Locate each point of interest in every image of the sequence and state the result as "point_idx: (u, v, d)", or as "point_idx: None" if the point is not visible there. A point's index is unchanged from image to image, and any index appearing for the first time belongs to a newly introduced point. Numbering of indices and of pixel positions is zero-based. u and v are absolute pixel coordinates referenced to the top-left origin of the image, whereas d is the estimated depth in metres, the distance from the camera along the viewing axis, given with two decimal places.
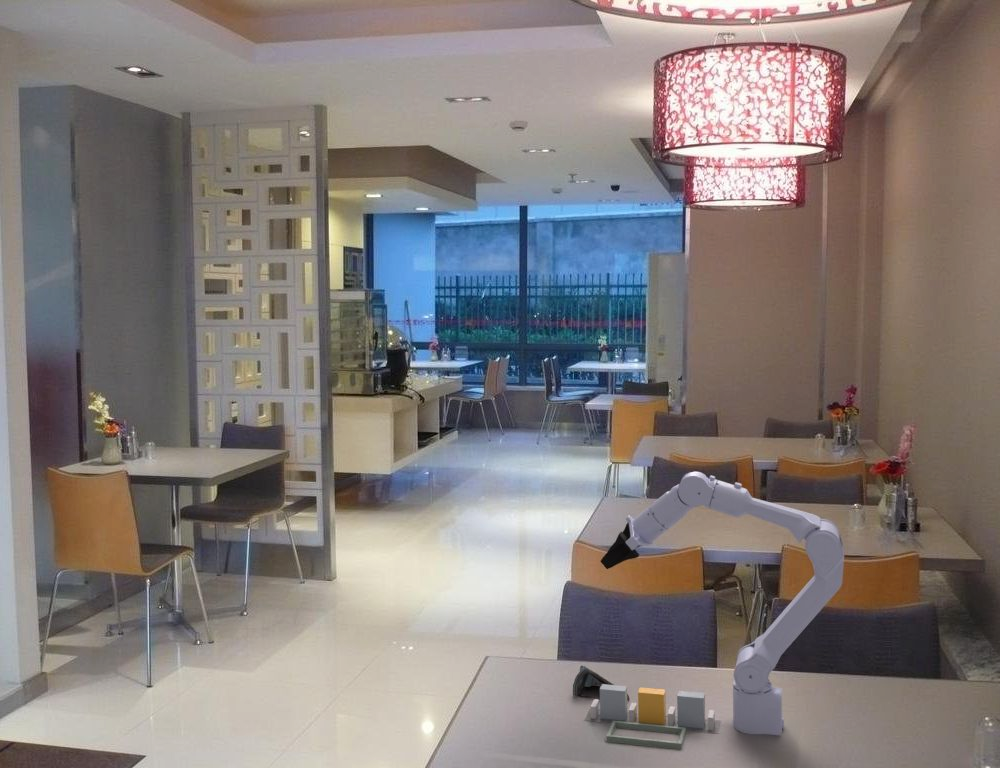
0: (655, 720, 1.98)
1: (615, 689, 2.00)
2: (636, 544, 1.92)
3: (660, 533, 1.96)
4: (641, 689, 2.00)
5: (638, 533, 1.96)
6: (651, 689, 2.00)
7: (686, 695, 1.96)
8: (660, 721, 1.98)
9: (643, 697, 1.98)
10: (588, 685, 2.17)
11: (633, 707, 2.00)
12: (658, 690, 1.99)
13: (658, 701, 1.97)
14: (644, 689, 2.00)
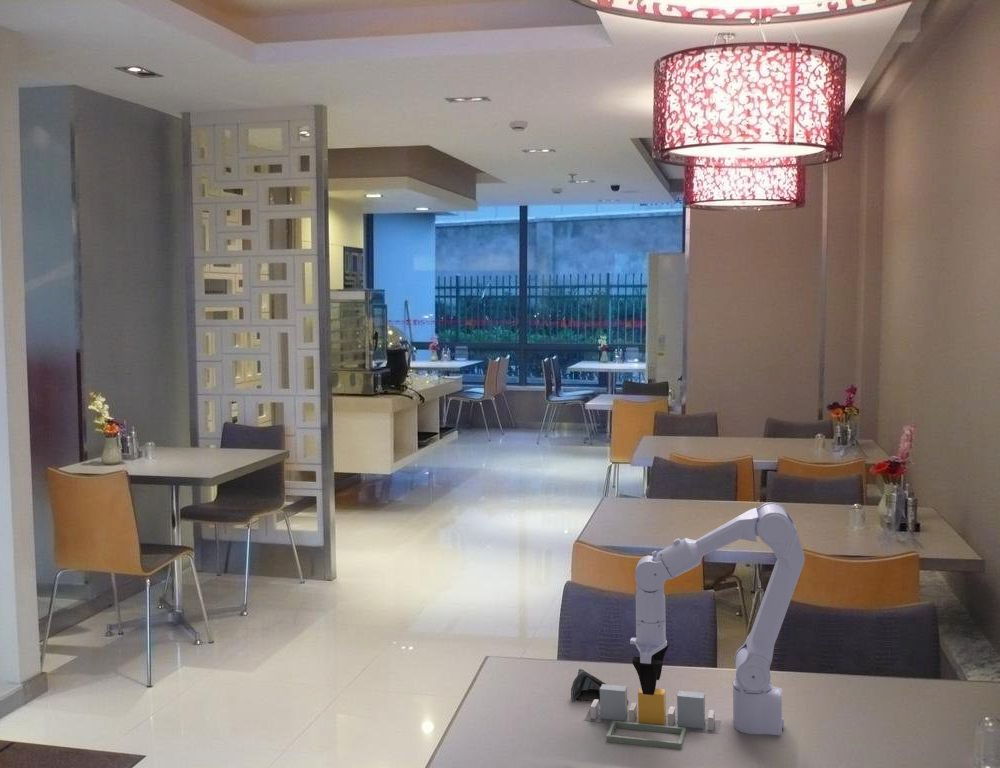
0: (655, 720, 1.98)
1: (615, 689, 2.00)
2: (648, 656, 1.91)
3: (662, 629, 1.96)
4: (641, 689, 2.00)
5: (646, 645, 1.95)
6: None
7: (686, 695, 1.96)
8: (660, 721, 1.98)
9: (643, 697, 1.98)
10: (586, 689, 2.16)
11: (633, 707, 2.00)
12: (658, 690, 1.99)
13: (658, 701, 1.97)
14: None
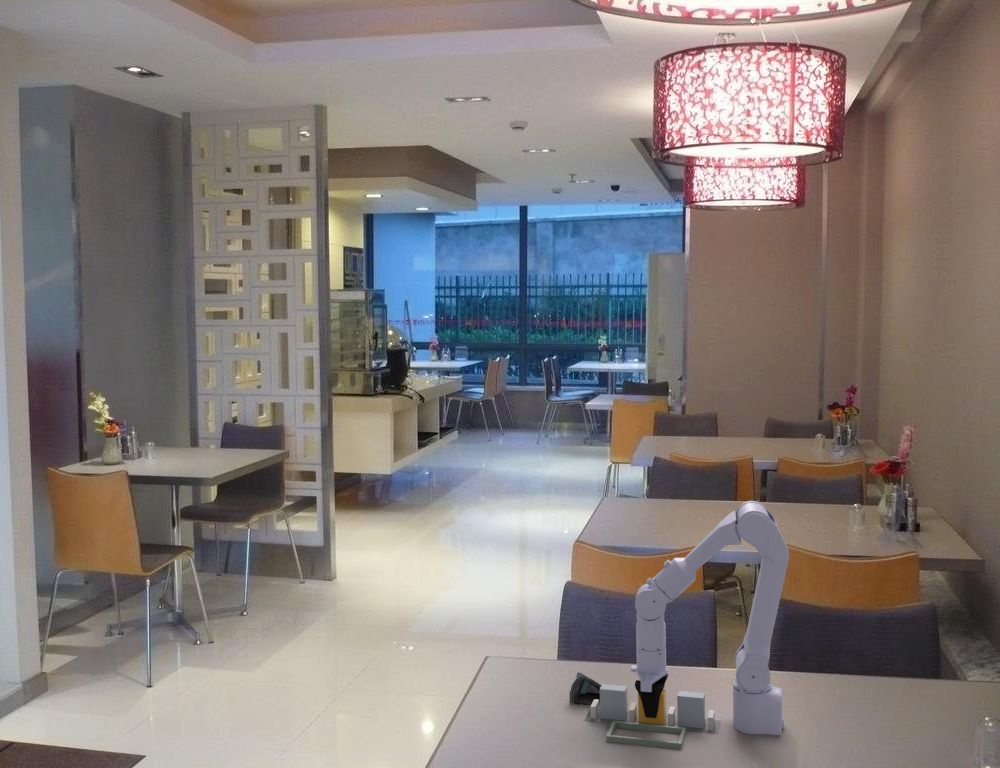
0: (655, 720, 1.98)
1: (615, 689, 2.00)
2: (649, 684, 1.91)
3: (662, 657, 1.96)
4: None
5: (647, 673, 1.96)
6: None
7: (686, 695, 1.96)
8: (660, 721, 1.98)
9: None
10: (584, 692, 2.14)
11: (633, 707, 2.00)
12: None
13: None
14: None
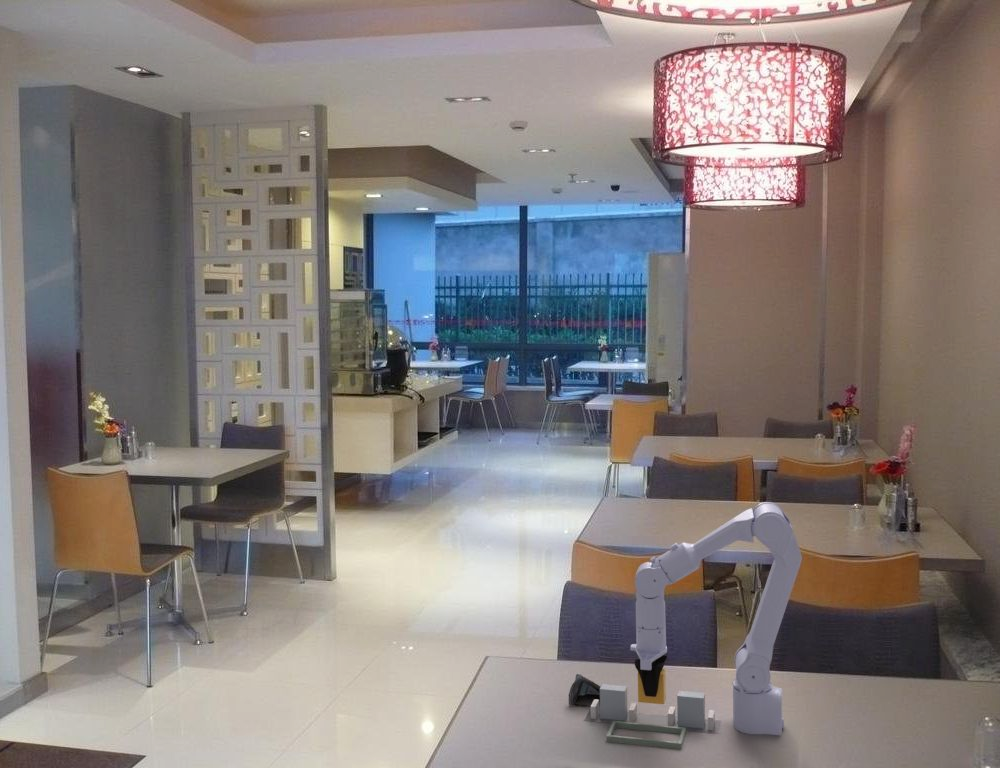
0: (655, 700, 1.98)
1: (615, 689, 2.00)
2: (648, 662, 1.91)
3: (662, 635, 1.96)
4: None
5: (647, 652, 1.95)
6: None
7: (686, 695, 1.96)
8: (660, 701, 1.97)
9: None
10: (583, 694, 2.13)
11: (633, 707, 2.00)
12: None
13: None
14: None
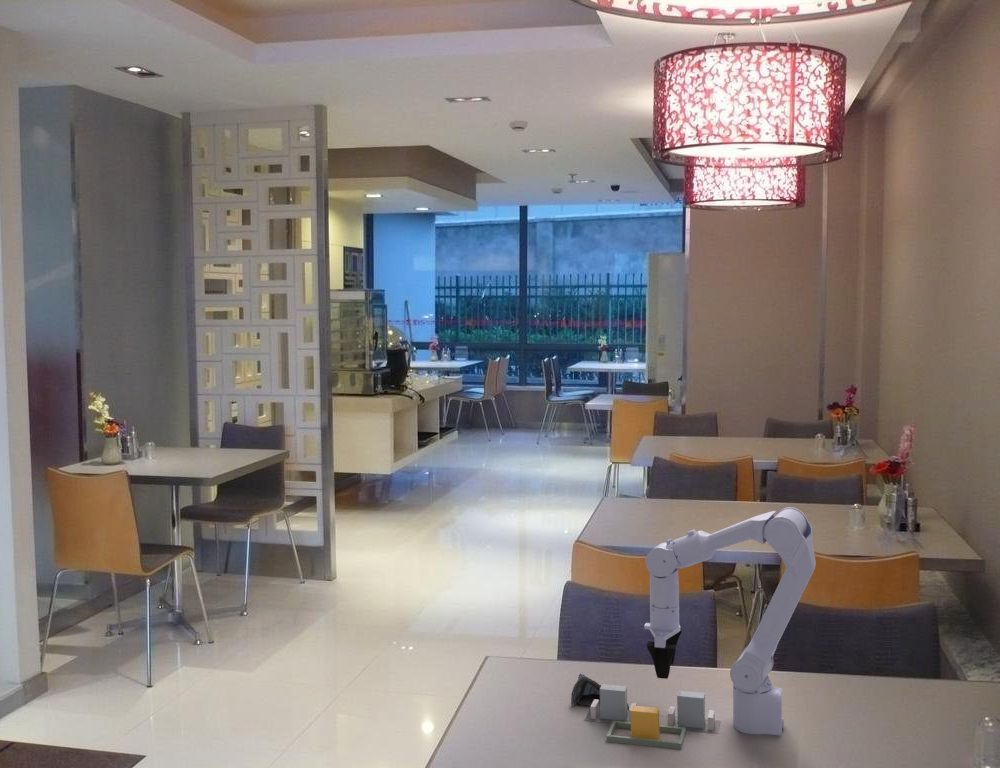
0: None
1: (615, 689, 2.00)
2: (662, 640, 1.95)
3: (675, 614, 2.00)
4: (634, 707, 1.93)
5: (660, 630, 1.99)
6: (644, 707, 1.93)
7: (686, 695, 1.96)
8: None
9: (636, 716, 1.91)
10: (587, 694, 2.13)
11: None
12: (652, 708, 1.92)
13: (652, 720, 1.90)
14: (637, 707, 1.93)
